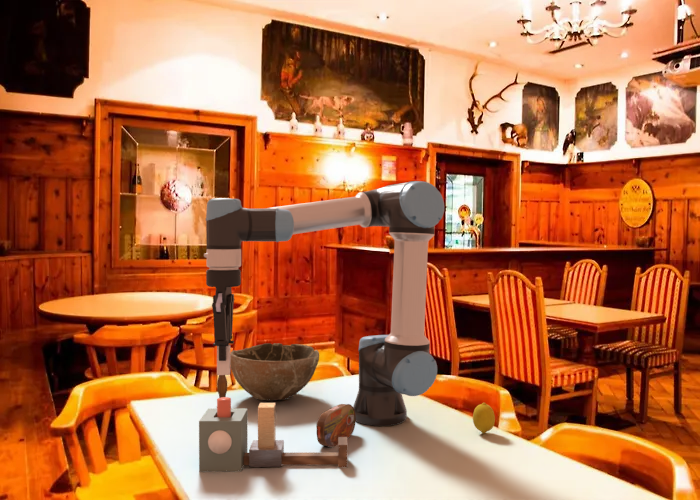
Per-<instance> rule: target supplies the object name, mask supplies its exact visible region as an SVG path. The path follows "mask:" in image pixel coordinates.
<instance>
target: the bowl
mask: <svg viewBox="0 0 700 500" xmlns="http://www.w3.org/2000/svg"><path fill="white" fill-rule="evenodd" d="M319 361H320V352H319V351H318V350H317V349H315V348H314V347H313V346H310V345H307V344H306V345H305V344H299V343H292V344H290V345H288V344H283V343H273V344H272V343H271V342H270V343H269V342H268V343H267V342H266V343H262V344H257V345H253V346H251V347H246V348H244V349H237V350H232V351H230V371H231V372H232V375H233V377H234V379H235V380H236V381H235V382H237V383H238V385H239V386H240V387H241V388H242V389H243V390H244V391H245V392H246V393H248V394H249V395H250V396H251V397H253V398H254V399H256V400H259V401H265V402H266V401H268V402H269V401H272V402H273V401H278V400H279V401H285V400H287V399H289V398H292V397H293V396H295V395H297V393H299V392H300V391H302V390H303V389H304V388H305V387H306V386H307V385H308V383H310V381H311V380H312V378H313V376H314V374H315V371H316V369H317V366H318V363H319Z"/></svg>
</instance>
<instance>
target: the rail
mask: <svg viewBox="0 0 700 500" xmlns="http://www.w3.org/2000/svg"><path fill="white" fill-rule="evenodd" d="M294 465H295V466H303V465H304V466H306V465H307V466H309V465H310V466H311V465H312V466H315V465H319V466H323V465H324V466H325V465H326V466H327V465H328V466H332V465H333V466H334V465H335V466H336V465H337V468H348V438H347V437H338V444H337V452H330V451H329V452H326V451H325V452H284V453H283V454H282V466H294ZM243 466H249V452H247V453H245V454H244V465H243Z"/></svg>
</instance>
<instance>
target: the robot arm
mask: <svg viewBox="0 0 700 500" xmlns="http://www.w3.org/2000/svg"><path fill="white" fill-rule="evenodd" d="M205 213H206V215H205V217H206V218H205V227H206V228H205V229H206V230H205V234H206V253H205V252H204V253H203V258H206V263H205V264H206V265H205V266H206V267H207V268H209V269H206V271H205V274H206V275H205V280H206V281H205V283H206V286H207V287H210V288H215V294H214V295H212V297H213V298H212V304H211V307H212V314H213V333H214V342H213V343H212V346H213V347H216V376H219V375H225V376H229V375H231V365H230V354H231V345H232V344H233V345H234V344H235V340H232V339H233V326H234V325H233V323H234V322H233V320H234V303H235V294H234V293H233V292H232V288H235V287H240V286H241V284H242V273H241V272H242V271H241V269H239V268H240V267H241V266H242V242H271V243H272V242H276V243H279V242H288V241H289V240H291V239H292V236H293V235H296V234H297V235H299V234H303V233H304V234H305V233H312V232H318V231H324V230H330V229H332V230H333V229H337V228H344V227H345V228H346V227H351V226H360V227H361V228H370V227H371V228H372V227H385V228H386V227H387V228H388V234H389V235H390V237H391V238H392V239H393V240H394V241H393V242H394V247H393V248H394V250H393V252H394V253H393V273H392V275H393V276H392V294H391V295H392V296H391V320H390V321H391V322H390V333H389V334H378V335H368V336H367V335H366V336H363V337H361V338H360V339H359V344H358V351H357V352H358V391H357V395H356V397H355V400H354V403H353V405H352V406H353V408H354V410H355V415H356V422H358V423H359V424H362V425H365V426H366V425H367V426H374V427H375V426H377V427H386V426H387V427H389V426H394V425H395V426H396V425H399V424H402V423H404V422H405V421H406V420H407V418H408V417H407V416H408V415H407V412H408V411H407V407H406V404H405V401H404V398H403V397H404V396H403V395H405V396H409V397H418V396H421V395H423V394H424V393H427V392H428V390H429V389H430V388H431V387H432V386H433V384H434V383H435V381H436V379H437V375H438V365H437V361H436V359H434V357H433V356H432V354H430V350H431V349H430V343H431V341H430V340H429V339H428V338H427V336H426V335H425V326H426V325H425V322H426V302H427V301H426V299H427V298H426V297H427V277H428V276H427V273H428V253H429V250H428V249H429V241H430V240H431V239H432V238H433V237H434V236H435V229H436V227H435V226H436V225H438V224H439V222H440V221H441V220H442V219H443V216H444V213H445V202H444V198H443V195H442V193H441V192H440V191H439V190H438V189H437V187H436V186H435V185H433V184H432V183H430V182H427V181H421V180H420V181H418V180H414V181H412V180H411V181H408V182H402V183H394V184H390V185H386V186H385V185H384V186H382V187H379V188H375V189H372V190H367V191H360V192H358V193H356V195H355V196H351V197H342V198H334V199H328V200H327V199H326V200H319V201H313V202H305V203H296V204H288V205H282V206H281V205H280V206H279V205H278V206H273V207H267V208H266V207H265V208H246V207H243V206H242V201H241V200H240V199H239V198H227V197H226V198H225V197H224V198H222V197H219V198H217V197H216V198H211V199H209V200H207V202H206V212H205Z"/></svg>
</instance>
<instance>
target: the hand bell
mask: <svg viewBox="0 0 700 500" xmlns="http://www.w3.org/2000/svg"><path fill="white" fill-rule="evenodd" d="M226 376H227V375H218V377H217V382H216V389H217V393H218V398H221V397H227V396H226V394H227V392H228V379H227V377H226Z"/></svg>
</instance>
